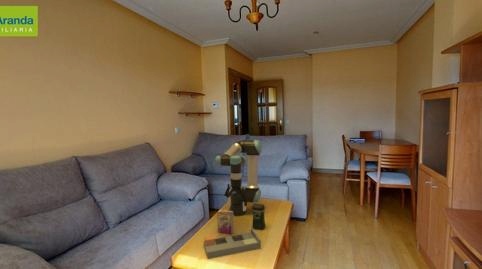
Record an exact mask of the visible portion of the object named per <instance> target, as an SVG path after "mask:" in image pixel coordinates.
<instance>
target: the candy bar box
mask: <svg viewBox="0 0 482 269" xmlns="http://www.w3.org/2000/svg"><path fill="white" fill-rule="evenodd" d="M216 214H217V233H220V234H227V235H232V234H233V233H234V232H235V231H234V229H235V227H234V225H235V224H234V215H233V211H229V209H221V208H220V209H219V210H218V211H217V212H216Z"/></svg>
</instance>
